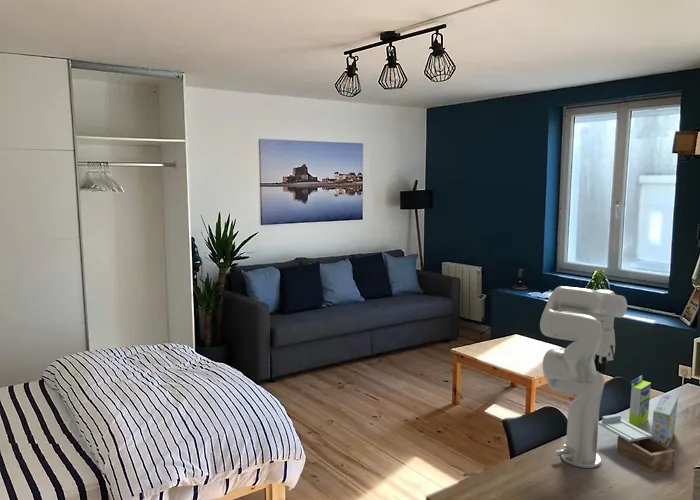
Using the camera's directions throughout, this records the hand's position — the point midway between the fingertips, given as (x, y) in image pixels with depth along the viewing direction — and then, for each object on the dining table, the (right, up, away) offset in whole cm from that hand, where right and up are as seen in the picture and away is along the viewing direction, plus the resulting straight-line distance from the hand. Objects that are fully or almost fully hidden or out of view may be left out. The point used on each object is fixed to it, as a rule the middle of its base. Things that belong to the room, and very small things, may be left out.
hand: (598, 371), depth 204 cm
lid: (+4, -18, -10) cm, 22 cm away
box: (+20, -22, +11) cm, 32 cm away
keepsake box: (+7, -26, -18) cm, 32 cm away
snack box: (+20, -25, -6) cm, 32 cm away
